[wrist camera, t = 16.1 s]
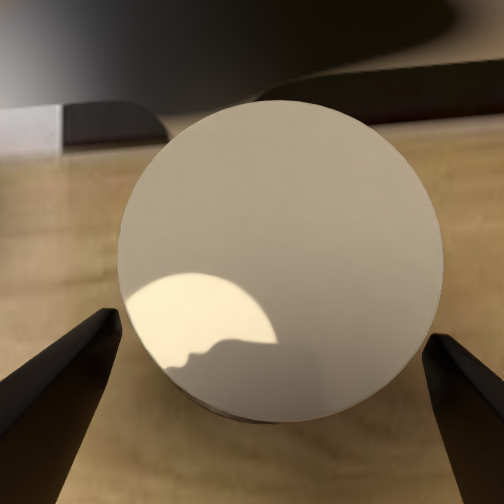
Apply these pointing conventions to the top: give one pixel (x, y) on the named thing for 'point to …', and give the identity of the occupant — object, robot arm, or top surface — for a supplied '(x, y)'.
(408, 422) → the top surface
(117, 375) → the top surface
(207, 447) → the top surface
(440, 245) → the spice jar
